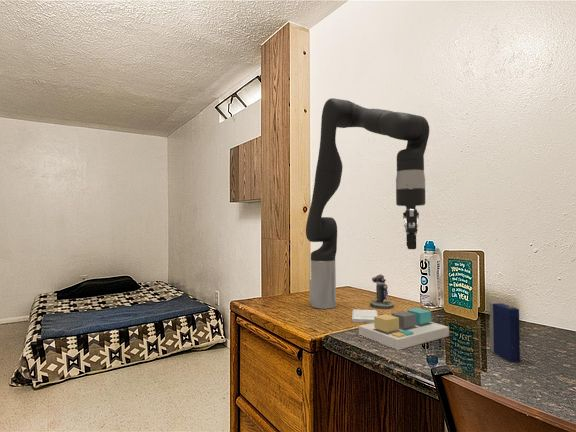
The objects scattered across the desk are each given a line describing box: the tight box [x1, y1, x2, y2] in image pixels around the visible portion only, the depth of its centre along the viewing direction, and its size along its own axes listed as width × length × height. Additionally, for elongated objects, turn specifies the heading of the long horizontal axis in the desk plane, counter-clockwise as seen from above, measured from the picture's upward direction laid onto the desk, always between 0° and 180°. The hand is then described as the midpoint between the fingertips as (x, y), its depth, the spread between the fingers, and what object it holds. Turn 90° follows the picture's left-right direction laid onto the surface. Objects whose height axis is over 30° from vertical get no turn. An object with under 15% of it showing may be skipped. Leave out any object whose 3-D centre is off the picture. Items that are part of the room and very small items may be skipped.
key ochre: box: [374, 313, 399, 332], centre depth 96 cm, size 4×4×3 cm
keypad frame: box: [358, 321, 450, 351], centre depth 100 cm, size 14×20×3 cm
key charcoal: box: [391, 310, 416, 328], centre depth 100 cm, size 4×4×3 cm
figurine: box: [369, 273, 395, 310], centre depth 134 cm, size 8×8×12 cm
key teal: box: [406, 307, 432, 324], centre depth 103 cm, size 4×4×3 cm
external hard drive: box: [351, 308, 379, 324], centre depth 119 cm, size 2×8×12 cm
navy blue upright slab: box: [488, 301, 521, 363], centre depth 84 cm, size 7×2×12 cm, turn 4°
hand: (411, 247), depth 98 cm, fingers open, 8 cm apart
